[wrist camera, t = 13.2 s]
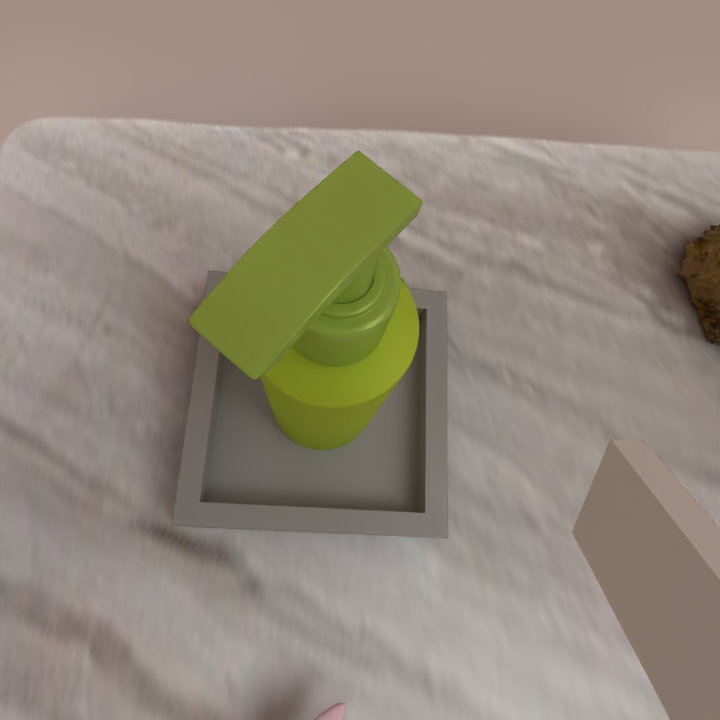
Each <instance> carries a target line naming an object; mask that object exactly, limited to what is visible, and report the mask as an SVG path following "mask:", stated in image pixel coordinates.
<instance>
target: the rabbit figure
mask: <svg viewBox="0 0 720 720" xmlns="http://www.w3.org/2000/svg"><path fill="white" fill-rule="evenodd" d="M345 709H346V705H345V704H344V703H338V704H336V705H334V706H332V707H330V708H329V709H327V710H326V711H325V712H323V713H322V714H321V715H319V716H318V717H317V718H316V719H314V720H342V717H343V715H344V712H345Z"/></svg>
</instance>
